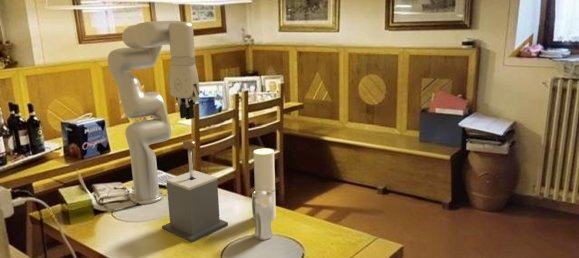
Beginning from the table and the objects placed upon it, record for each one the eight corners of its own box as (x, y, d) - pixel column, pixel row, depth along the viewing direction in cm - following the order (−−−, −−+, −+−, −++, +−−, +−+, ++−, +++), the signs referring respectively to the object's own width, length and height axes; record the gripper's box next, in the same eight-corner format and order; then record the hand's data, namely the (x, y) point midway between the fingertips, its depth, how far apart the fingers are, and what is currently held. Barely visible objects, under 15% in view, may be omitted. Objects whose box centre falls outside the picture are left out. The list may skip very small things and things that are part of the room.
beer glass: (258, 242, 154) (256, 199, 150) (249, 233, 160) (248, 192, 156) (277, 237, 157) (276, 195, 153) (268, 229, 163) (267, 188, 159)
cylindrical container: (276, 213, 175) (275, 148, 169) (274, 222, 168) (272, 154, 162) (257, 213, 176) (255, 148, 170) (254, 221, 169) (251, 154, 163)
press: (162, 229, 164) (157, 180, 160) (200, 212, 177) (197, 166, 173) (191, 242, 155) (187, 191, 150) (230, 224, 167) (228, 176, 163)
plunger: (173, 190, 161) (169, 142, 157) (194, 182, 168) (191, 136, 164) (190, 196, 156) (186, 147, 151) (211, 188, 162) (208, 140, 158)
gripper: (158, 61, 153) (163, 117, 158) (189, 64, 143) (193, 123, 148) (177, 59, 159) (181, 113, 163) (208, 62, 149) (212, 119, 154)
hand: (187, 117), depth 156 cm, fingers closed
